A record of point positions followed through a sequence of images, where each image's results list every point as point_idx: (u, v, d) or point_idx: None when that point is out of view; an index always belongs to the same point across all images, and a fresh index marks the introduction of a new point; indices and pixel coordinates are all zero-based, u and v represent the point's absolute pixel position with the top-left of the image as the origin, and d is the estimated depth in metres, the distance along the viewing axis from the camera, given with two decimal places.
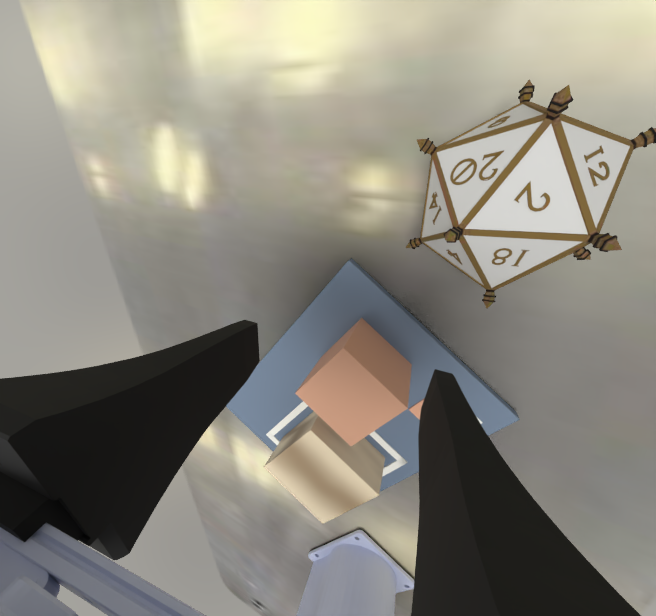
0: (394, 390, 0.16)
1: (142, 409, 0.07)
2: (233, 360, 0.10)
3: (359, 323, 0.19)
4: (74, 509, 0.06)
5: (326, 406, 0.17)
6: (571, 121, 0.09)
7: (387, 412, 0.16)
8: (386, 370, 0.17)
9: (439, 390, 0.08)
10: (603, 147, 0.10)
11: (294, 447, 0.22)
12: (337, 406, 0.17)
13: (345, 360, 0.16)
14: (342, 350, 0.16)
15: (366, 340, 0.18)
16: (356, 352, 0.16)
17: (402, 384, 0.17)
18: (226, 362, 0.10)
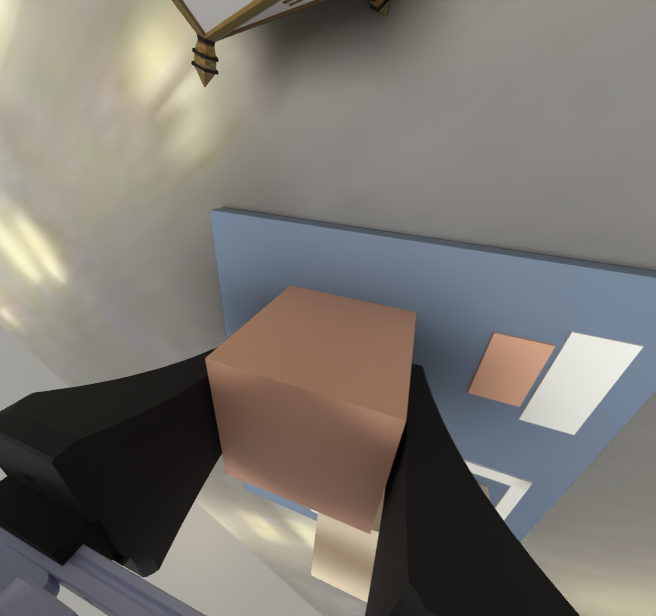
0: (358, 389, 0.06)
1: (175, 422, 0.07)
2: None
3: (280, 295, 0.10)
4: (110, 529, 0.06)
5: (278, 478, 0.08)
6: None
7: (375, 446, 0.06)
8: (338, 354, 0.07)
9: None
10: None
11: (321, 539, 0.12)
12: (290, 470, 0.08)
13: (228, 379, 0.07)
14: (208, 364, 0.07)
15: (291, 316, 0.09)
16: (247, 352, 0.07)
17: (387, 363, 0.07)
18: None
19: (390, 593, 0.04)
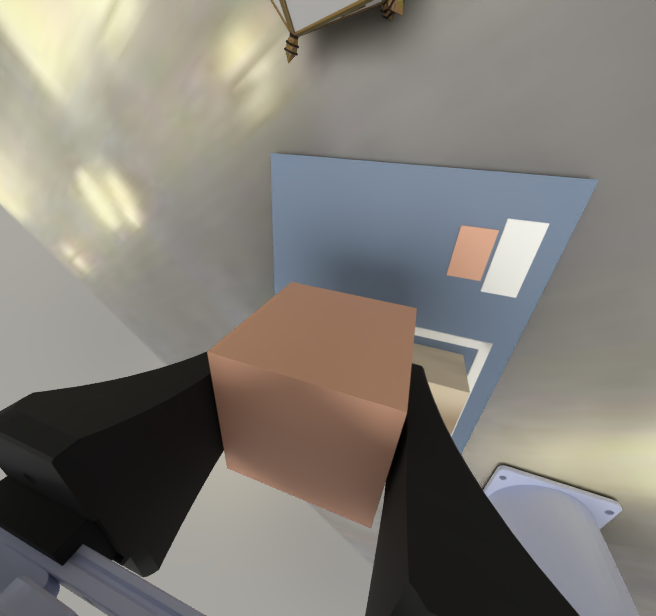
0: (360, 382, 0.06)
1: (175, 422, 0.07)
2: None
3: (281, 291, 0.10)
4: (110, 529, 0.06)
5: (279, 472, 0.08)
6: None
7: (376, 439, 0.06)
8: (339, 348, 0.07)
9: None
10: None
11: None
12: (291, 464, 0.08)
13: (230, 372, 0.07)
14: (210, 357, 0.07)
15: (293, 311, 0.09)
16: (248, 346, 0.07)
17: (388, 357, 0.07)
18: None
19: (390, 593, 0.04)
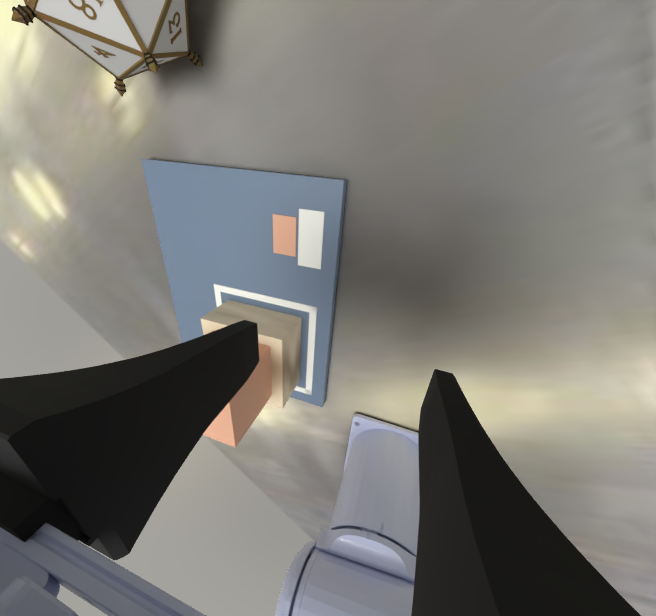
0: None
1: (142, 409, 0.07)
2: (233, 360, 0.10)
3: None
4: (74, 509, 0.06)
5: None
6: None
7: None
8: None
9: (439, 390, 0.08)
10: None
11: None
12: None
13: None
14: None
15: None
16: None
17: None
18: (226, 362, 0.10)
19: None
